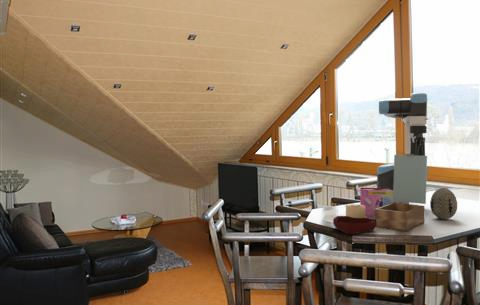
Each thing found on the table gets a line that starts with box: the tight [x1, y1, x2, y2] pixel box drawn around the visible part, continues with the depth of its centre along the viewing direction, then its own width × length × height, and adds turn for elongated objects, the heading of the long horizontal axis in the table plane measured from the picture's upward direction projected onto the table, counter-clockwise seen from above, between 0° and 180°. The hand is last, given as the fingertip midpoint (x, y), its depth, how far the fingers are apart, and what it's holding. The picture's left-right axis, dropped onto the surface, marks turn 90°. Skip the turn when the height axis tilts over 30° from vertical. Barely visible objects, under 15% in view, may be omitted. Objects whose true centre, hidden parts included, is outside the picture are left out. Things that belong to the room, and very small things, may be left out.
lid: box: [393, 154, 428, 205], centre depth 199 cm, size 15×23×2 cm
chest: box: [374, 203, 425, 233], centre depth 191 cm, size 14×22×8 cm, turn 139°
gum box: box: [359, 187, 410, 218], centre depth 212 cm, size 24×8×14 cm, turn 73°
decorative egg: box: [429, 187, 458, 220], centre depth 203 cm, size 12×12×15 cm
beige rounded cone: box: [345, 203, 366, 218], centre depth 202 cm, size 9×9×7 cm
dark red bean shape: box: [332, 215, 377, 236], centre depth 181 cm, size 18×16×5 cm
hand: (417, 172), depth 207 cm, fingers open, 6 cm apart
